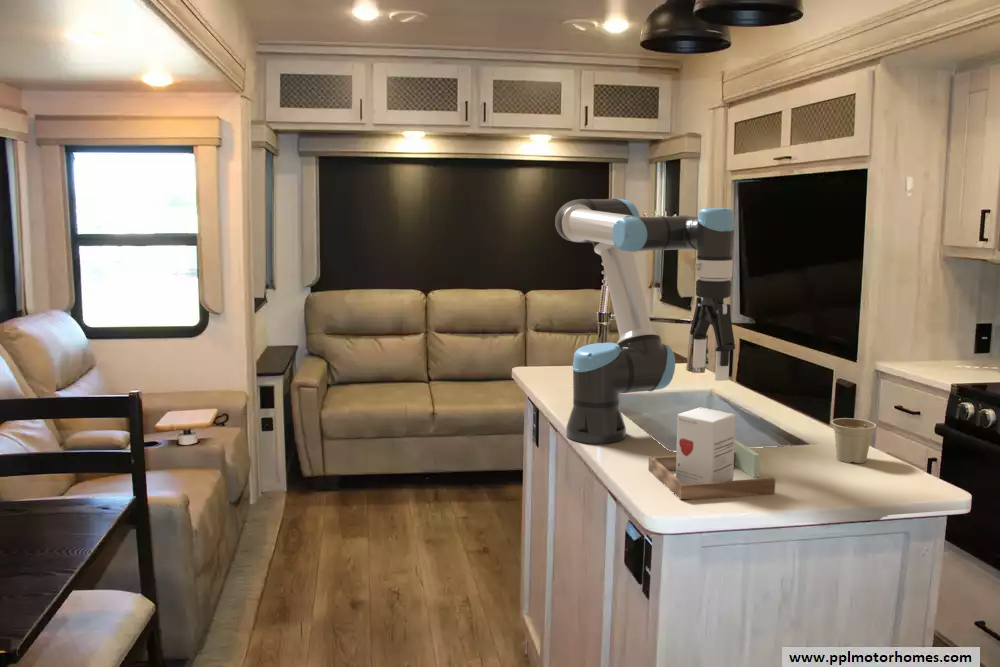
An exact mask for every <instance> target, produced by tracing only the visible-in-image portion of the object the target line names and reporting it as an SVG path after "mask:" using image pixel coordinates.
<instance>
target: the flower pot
mask: <svg viewBox="0 0 1000 667" xmlns="http://www.w3.org/2000/svg"><path fill="white" fill-rule="evenodd" d="M830 422H831V423H830V424H832V429H833V431H834V438H835V450H836V451H835V452H836V453H835V454H836V458H837V460H838V461H841V462H844V463H855V464H862V463H866V461H867V460H868V459H867V458H868V453H869V448H870V444H871V441H872V440H871V439H872V436H873V434H874V431H875V429H876V428H877V424H876V423H875V422H872V421H869V420H866V419H859V418H852V417H851V418H849V417H842V418H841V417H840V418H834V419H832V420H831V421H830Z"/></svg>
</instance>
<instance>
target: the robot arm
mask: <svg viewBox="0 0 1000 667" xmlns="http://www.w3.org/2000/svg"><path fill="white" fill-rule="evenodd" d="M640 215H641V214H640V213H639V209H638V208H637V206H636V205H635V204H634V203H633V202H631V200H627V199H621V198H617V197H615V198H605V199H602V198H599V199H598V198H595V199H593V198H588V199H587V198H586V199H585V198H580V199H573V200H570V201H568V202H566V203H564V204H563V205H562V206H561V207H560V208H559V210H558V211H557V213H556V215H555V219H554V220H555V222H554V226H555V229H556V231H557V233H558V234H559V236H561V237H562V238H563V239H565V240H566V241H570V242H573V243H591V244H592V246H593V250H594V253H596V254H597V255H599V256H600V257H601V261H602V264H603V265H602V266H603V269H604V273H605V278H606V282H607V288H608V292H609V295H610V300H611V304H612V309H613V310H612V311H613V313H614V318H615V323H616V327H617V331H618V335H619V339H618V340H617V342H616V343H615V342H602V343H601V342H597V343H596V342H595V343H592V344H591V343H590V344H586V345H583V346H581V347H579V348H578V349H576V350H575V352H574V353H573V361H572V362H573V363H572V371H573V372H572V374H573V375H572V376H573V377H572V378H573V380H572V382H573V384H572V389H573V390H572V392H573V393H572V394H573V398H572V399H573V401H572V404H573V406H572V409H571V412H570V414H569V418H568V421H567V424H566V427H565V428H566V432H565V434H566V437H567V438H568V439H570V440H572V441H575V442H578V443H584V444H597V445H598V444H599V445H601V444H612V443H617V442H618V443H619V442H621V441H623V440H625V439H626V436H627V429H626V425H625V424H626V423H625V421H624V418H623V415H622V411H621V407H620V394H631V393H641V392H654V391H658V390H663V389H665V388H666V387H668V386H669V385H670V383H672V380H673V378H674V375H675V371H676V370H675V369H676V358H675V354H674V351H673V349H672V348H671V347H670V346H669V345H668V344H665V343H662V340H661V336H660V334H658V333H656V332H655V331H653V328H652V324H651V323H652V322H651V319H650V315H649V312H648V307H647V303H646V299H645V295H644V291H643V287H642V282H641V279H640V274H639V270H638V266H637V261H636V258H635V254H634V252H640V251H641V252H642V251H668V250H669V251H672V250H674V251H677V250H693V251H694V250H695V251H696V252H697V254H696V264H694V268H695V269H696V278H699V279H697V280H695V281H696V282H695V295H696V299H695V300H696V302H695V309H694V314H693V318H692V322H691V326H690V330H689V333H690V335H692V339H693V350H692V351H693V353H692V354H693V357H692V367H693V368H706V360H707V359H706V358H707V355H706V354H707V339H708V335H707V333H708V330H709V327H710V325H711V326H712V329H713V334H714V338H715V340H716V344H717V347H716V348H715V371H714V372H715V373H714V381H716V382H717V381H719V382H720V381H729V380H730V379H729V377H730V376H729V374H730V354H731V353H730V352H731V351H733V350H735V349H736V344H735V338H734V337H735V336H734V332H733V331H734V330H733V323H732V318H731V317H732V316H731V304H725V303H724V302H725V301H724V299H725V298H726V299H728V298H730V297H731V296H732V281H731V279H732V276H733V264H734V263H733V255H734V254H733V252H734V237H735V236H734V235H735V234H734V233H735V227H736V226H735V217H734V216H735V212H734V211H733V209H732V208H729V207H724V208H723V207H722V208H721V207H703V208H700V209H699V211H698V216H693V215H687V214H686V215H676V216H640Z"/></svg>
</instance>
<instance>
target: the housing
mask: <svg viewBox="0 0 1000 667" xmlns="http://www.w3.org/2000/svg"><path fill="white" fill-rule="evenodd" d="M735 463H736V453H735V452H734V467H736V465H735ZM648 471H649V472H650V473H651V474H652V475H653V476H654V477H655V478H656V479H657V480H659V481H660V482H661V483H662V484H663V485H664V484H665V485H666V486H667V487H668V488H669V489H670V490H671V491H672V492H674V493H675V494H676V495H677V496H678V497H679V498H680V499H692V500H704V499H706V498H707V499H716V498H717V499H719V498H731V497H732V498H734V497H746V496H761V495H762V496H763V495H775V493H776V479H775V478H774V477H768V478H765V477H764V478H753V479H739V480H738V479H737V480H734V479H733V481H719V482H704V483H689V484H684V483H682V482H681V481H680V480H679V479H678V478H677V477H676V475H675V474H674V473H672V472H671V471H676V455H662V456H660V455H659V456H648ZM665 485H664V486H665ZM666 486H665V487H666ZM667 487H666V488H667ZM668 488H667V489H668ZM669 489H668V490H669ZM670 490H669V491H670ZM671 491H670V492H671ZM672 492H671V493H672ZM675 494H674V495H675ZM676 495H675V496H676ZM677 496H676V497H677ZM678 497H677V498H678ZM679 498H678V499H679ZM680 499H679V500H680ZM707 499H706V500H707Z"/></svg>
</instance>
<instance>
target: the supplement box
mask: <svg viewBox="0 0 1000 667" xmlns="http://www.w3.org/2000/svg"><path fill="white" fill-rule="evenodd" d="M676 419H677V420H676V422H677V424H676V425H677V426H676V470H675V476H676V477H677V478H678V479H679V480H680V481H681V482H682V483H684V484H689V483H704V482H719V481H734V467H735V466H734V444H735V440H736V424H737V423H736V422H737V421H736V420H737V415H736V414H735V413H730V412H726V411H721V410H716V409H710V408H706V407H703V406H701V407H700V406H699V407H697V408H694V409H690V410H687V411H684V412H683V411H682V412H680V413H678V414H677V418H676Z"/></svg>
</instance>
